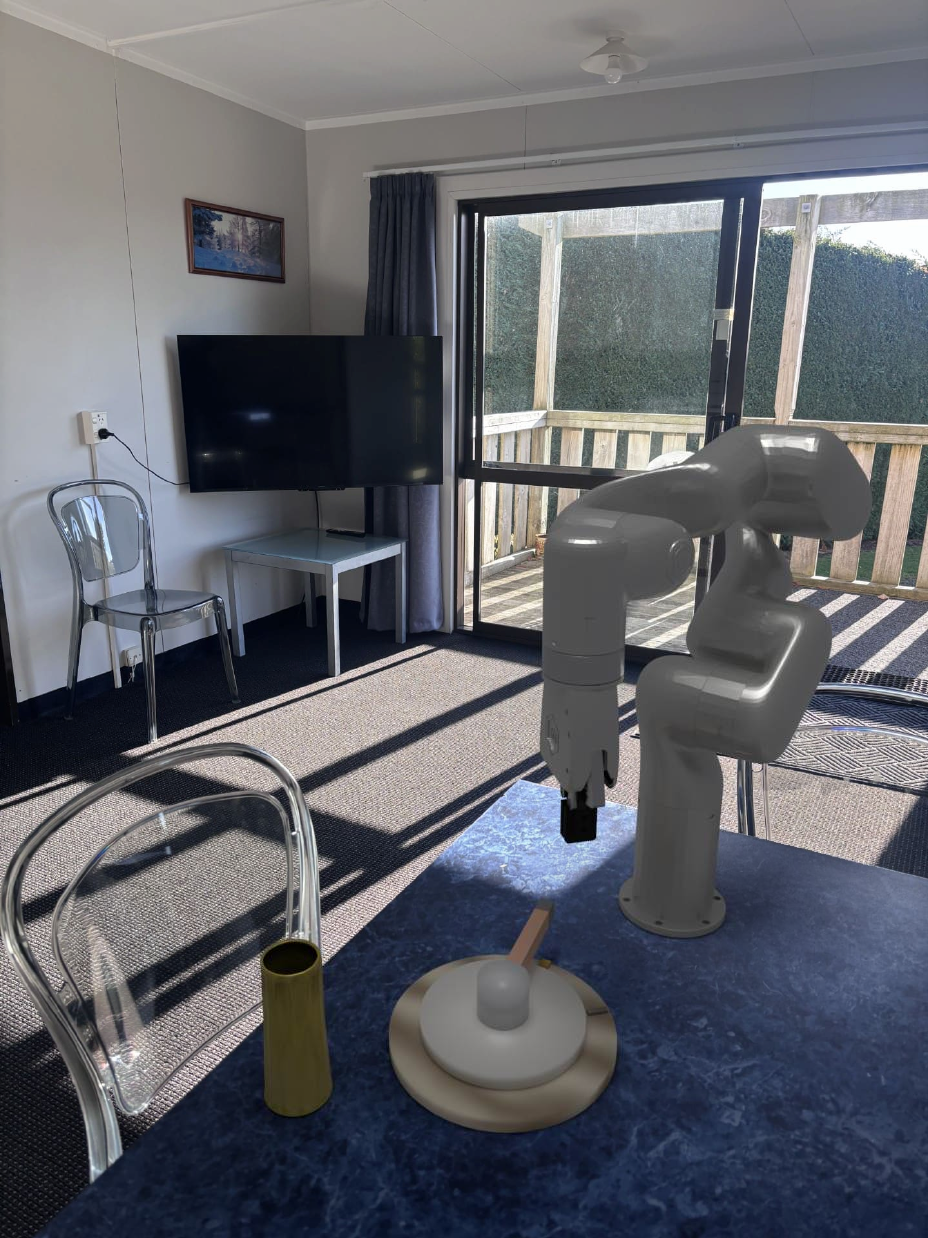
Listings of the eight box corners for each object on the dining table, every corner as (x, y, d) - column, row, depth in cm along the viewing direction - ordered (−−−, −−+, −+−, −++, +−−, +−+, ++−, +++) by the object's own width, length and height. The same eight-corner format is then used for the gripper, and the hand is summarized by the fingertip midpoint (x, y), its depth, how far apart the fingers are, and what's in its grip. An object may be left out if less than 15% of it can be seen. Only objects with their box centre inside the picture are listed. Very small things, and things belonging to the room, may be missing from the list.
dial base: (456, 944, 102) (456, 929, 102) (645, 1007, 92) (646, 992, 92) (343, 1075, 83) (342, 1058, 83) (565, 1172, 74) (565, 1154, 73)
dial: (559, 1111, 77) (561, 1058, 76) (391, 1059, 83) (390, 1009, 82) (617, 956, 97) (619, 912, 96) (478, 923, 103) (479, 880, 102)
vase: (318, 1124, 78) (311, 984, 74) (252, 1112, 79) (241, 974, 75) (341, 1071, 84) (336, 939, 80) (280, 1061, 85) (271, 931, 81)
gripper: (521, 639, 89) (520, 805, 94) (569, 695, 75) (565, 886, 80) (593, 634, 90) (588, 797, 96) (654, 687, 76) (644, 875, 82)
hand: (578, 837), depth 88 cm, fingers closed
